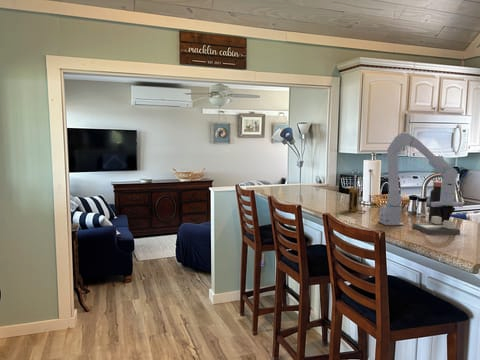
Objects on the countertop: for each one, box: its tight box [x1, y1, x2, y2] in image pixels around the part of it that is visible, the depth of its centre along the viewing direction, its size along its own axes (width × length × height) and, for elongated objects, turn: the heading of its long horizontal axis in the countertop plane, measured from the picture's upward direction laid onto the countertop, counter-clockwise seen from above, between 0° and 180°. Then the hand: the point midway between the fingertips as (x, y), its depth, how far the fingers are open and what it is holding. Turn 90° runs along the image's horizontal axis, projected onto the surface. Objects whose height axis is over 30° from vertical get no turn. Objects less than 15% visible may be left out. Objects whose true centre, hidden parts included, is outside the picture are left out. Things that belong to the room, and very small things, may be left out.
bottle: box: [428, 181, 444, 223], centre depth 186 cm, size 7×7×20 cm
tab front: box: [443, 219, 456, 229], centre depth 161 cm, size 3×3×3 cm
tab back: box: [430, 216, 442, 224], centre depth 170 cm, size 3×3×3 cm
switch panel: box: [412, 222, 461, 235], centre depth 166 cm, size 14×13×2 cm
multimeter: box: [347, 176, 369, 215], centre depth 208 cm, size 15×10×20 cm
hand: (445, 222), depth 171 cm, fingers closed
